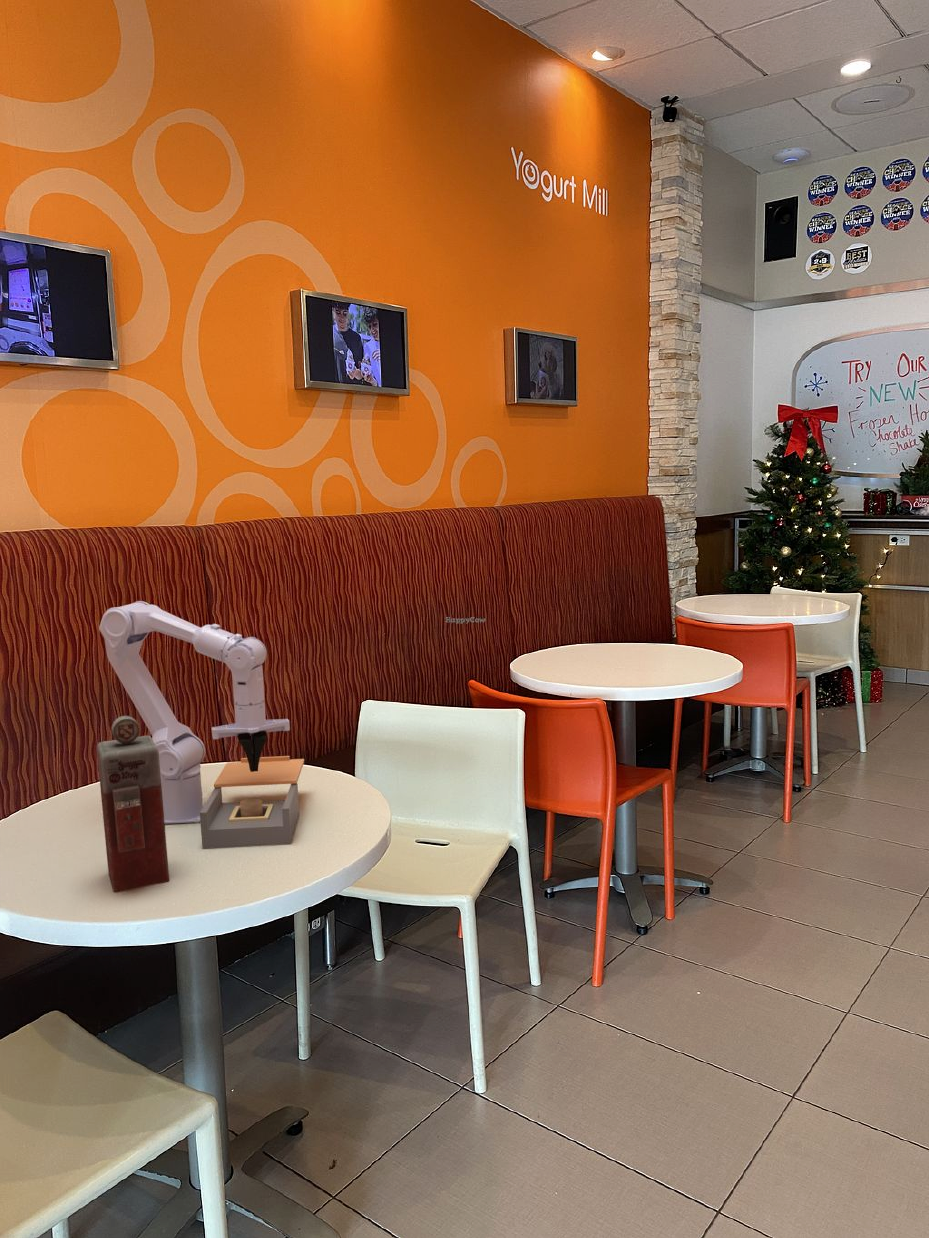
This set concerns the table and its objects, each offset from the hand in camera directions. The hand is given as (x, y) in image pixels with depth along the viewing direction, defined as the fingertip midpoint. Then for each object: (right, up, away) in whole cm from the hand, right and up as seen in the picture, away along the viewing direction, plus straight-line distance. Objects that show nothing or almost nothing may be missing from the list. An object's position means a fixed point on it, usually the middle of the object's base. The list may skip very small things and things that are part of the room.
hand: (253, 770), depth 182 cm
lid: (0, -2, +8) cm, 8 cm away
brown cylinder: (+1, -11, -4) cm, 12 cm away
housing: (+1, -11, -4) cm, 12 cm away
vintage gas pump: (-14, -15, -24) cm, 31 cm away
